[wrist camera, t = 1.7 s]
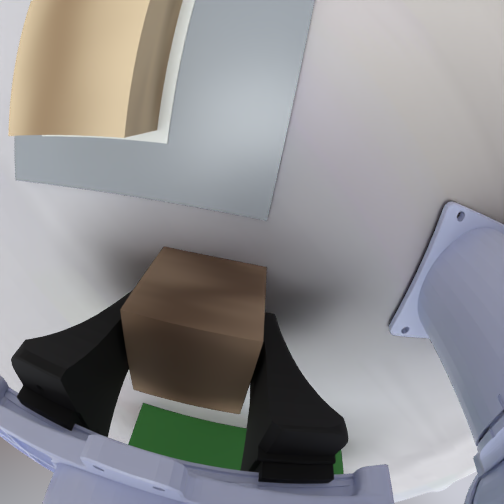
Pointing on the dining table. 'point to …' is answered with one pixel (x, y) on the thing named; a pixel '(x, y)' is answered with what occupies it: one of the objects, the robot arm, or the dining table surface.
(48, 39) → the oak block
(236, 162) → the build plate
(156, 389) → the walnut cube
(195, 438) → the hardback book
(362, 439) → the dining table surface
